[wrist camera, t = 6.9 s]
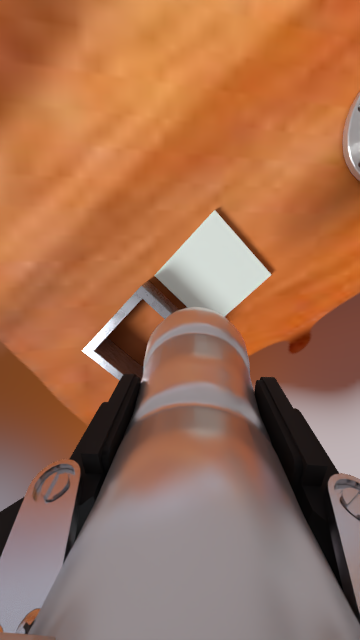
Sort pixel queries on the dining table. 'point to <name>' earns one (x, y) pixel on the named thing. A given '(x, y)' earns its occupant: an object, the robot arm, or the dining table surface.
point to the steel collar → (100, 344)
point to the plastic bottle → (196, 515)
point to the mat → (213, 268)
